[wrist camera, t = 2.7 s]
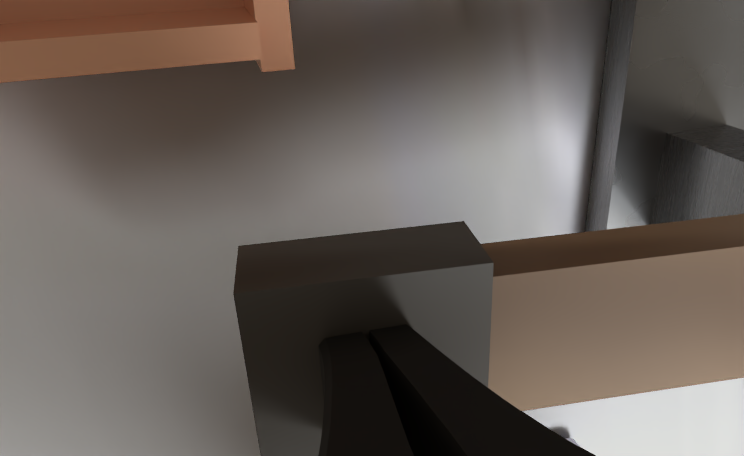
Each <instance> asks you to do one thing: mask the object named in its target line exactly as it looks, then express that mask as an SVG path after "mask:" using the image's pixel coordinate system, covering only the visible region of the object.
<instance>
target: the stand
mask: <svg viewBox="0 0 744 456" xmlns="http://www.w3.org/2000/svg"><path fill="white" fill-rule="evenodd" d="M737 214H744V0H612V4H611V13H610V22H609V30H608V39H607V48H606V56H605V65H604V73H603V82H602V91H601V99H600V108H599V117H598V125H597V134H596V143H595V151H594V160H593V168H592V177H591V186H590V194H589V203H588V212H587V220H586V229H585V232H590V231H598V230H607V229H616V228H624V227H633V226H642V225H650V224H659V223H668V222H677V221H685V220H694V219H703V218H711V217H720V216H729V215H737Z"/></svg>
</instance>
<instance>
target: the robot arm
mask: <svg viewBox="0 0 744 456" xmlns="http://www.w3.org/2000/svg"><path fill="white" fill-rule="evenodd" d="M318 347H319V357H320V367H321V376H322V386H323V396H324V412H323V426H322V436H321V443H320V449H319V456H595V455H594V454H592V453H590V452H588V451H586V450H584V449H583V448H581V447H579V445H578V444H577V443H576V441H575V440H574V439H571V438H563V437H562V436H560V435H558V434H557V433H555V432H553V431H552V430H550V429H548V428H547V427H545V426H544V425H542V424H541V423H539V422H537V421H536V420H534V419H533V418H531V417H530V416H528V415H527V414H525V413H524V412H522V411H520V410H519V409H517V408H516V407H514V406H513V405H511V404H510V403H509V402H507V401H506V400H504V399H503V398H501V397H500V396H499V395H497V394H496V393H495V392H493V391H492V390H491V389H489V388H488V387H486V386H485V385H484V384H482V383H481V382H480V381H478V380H477V379H475V378H474V377H473V376H471V375H470V374H469V373H468V372H466V371H465V370H464V369H462V368H461V367H460V366H458V365H457V364H456V363H455V362H453V361H452V360H451V359H450V358H448V357H447V356H446V355H444V354H443V353H442V352H441V351H440V350H438V349H437V348H436V347H435V346H433V345H432V344H431V343H430V342H428V341H427V340H426V339H425V338H423V337H422V336H421V335H420V334H418V333H417V332H416V331H415V330H413V329H412V328H411V327H410V326H408V325H407V324H404V325H398V326H392V327H386V328H380V329H374V330H370V343H369V341H368V340H367V339H366V337H365V336H364V334H363V333H362V332H356V333H350V334H345V335H340V336H335V337H330V338H325V339H324V340H323V341H322V342H321V343H320V344H319V346H318Z"/></svg>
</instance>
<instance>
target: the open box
mask: <svg viewBox="0 0 744 456" xmlns="http://www.w3.org/2000/svg"><path fill="white" fill-rule="evenodd" d="M249 60H256V62H257V64H258V66H259V68H260V69H261V71H262V72H269V71H280V70H290V69H295V63H294V53H293V43H292V33H291V23H290V13H289V3H288V0H0V83H3V82H14V81H25V80H37V79H48V78H59V77H70V76H81V75H93V74H104V73H115V72H126V71H137V70H148V69H160V68H171V67H182V66H193V65H204V64H216V63H227V62H238V61H249Z"/></svg>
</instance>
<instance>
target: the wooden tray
mask: <svg viewBox="0 0 744 456" xmlns="http://www.w3.org/2000/svg"><path fill="white" fill-rule="evenodd" d="M234 300H235V305H236V311H237V317H238V323H239V329H240V335H241V341H242V347H243V353H244V359H245V364H246V370H247V376H248V382H249V388H250V394H251V400H252V406H253V412H254V418H255V423H256V429H257V435H258V441H259V447H260V453H261V456H319V449H320V443H321V436H322V426H323V412H324V396H323V386H322V376H321V367H320V357H319V347H318V346H319V344H320V343H321V342H322V341H323V340H324V339H325V338H330V337H335V336H340V335H345V334H350V333H356V332H362V333H363V334H364V336H365V337H366V339H367V340H368V341H369V343H370V330H374V329H380V328H386V327H392V326H398V325H404V324H407V325H408V326H410V327H411V328H412V329H413V330H415V331H416V332H417V333H418V334H420V335H421V336H422V337H423V338H425V339H426V340H427V341H428V342H430V343H431V344H432V345H433V346H435V347H436V348H437V349H438V350H440V351H441V352H442V353H443V354H444V355H446V356H447V357H448V358H450V359H451V360H452V361H453V362H455V363H456V364H457V365H458V366H460V367H461V368H462V369H464V370H465V371H466V372H468V373H469V374H470V375H471V376H473V377H474V378H475V379H477V380H478V381H480V382H481V383H482V384H484V385H485V386H486V387H488V388H489V389H491V390H492V391H493V392H495V393H496V394H497V395H499V396H500V397H501V398H503V399H504V400H506V401H507V402H509V403H510V404H511V405H513V406H514V407H516V408H517V409H519V410H520V411H525V410H532V409H538V408H545V407H552V406H558V405H565V404H571V403H578V402H585V401H591V400H598V399H604V398H611V397H618V396H624V395H631V394H638V393H644V392H651V391H657V390H664V389H671V388H677V387H684V386H690V385H697V384H704V383H710V382H717V381H724V380H730V379H737V378H743V377H744V214H737V215H729V216H720V217H711V218H703V219H694V220H685V221H677V222H668V223H659V224H650V225H642V226H633V227H624V228H616V229H607V230H598V231H590V232H581V233H572V234H564V235H555V236H546V237H538V238H529V239H520V240H511V241H503V242H494V243H485V244H480V243H479V242H478V240H477V239H476V238H475V236H474V235H473V233H472V232H471V231H470V229H469V228H468V226H467V225H466V224H465V222H464V221H462V222H453V223H444V224H435V225H425V226H416V227H407V228H398V229H389V230H380V231H371V232H362V233H353V234H344V235H335V236H325V237H316V238H307V239H298V240H289V241H280V242H271V243H262V244H253V245H244V246H238V255H237V265H236V275H235V284H234Z"/></svg>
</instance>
